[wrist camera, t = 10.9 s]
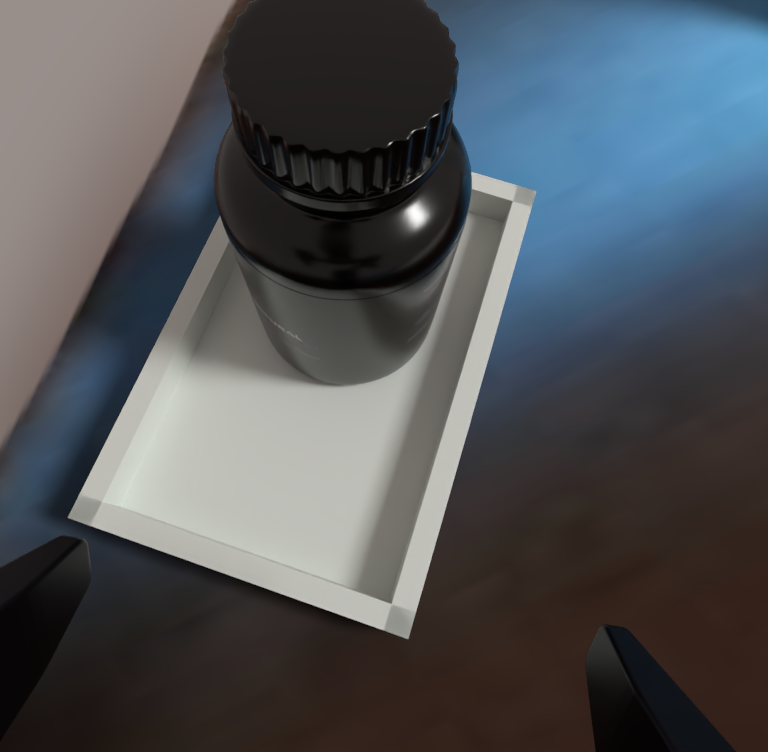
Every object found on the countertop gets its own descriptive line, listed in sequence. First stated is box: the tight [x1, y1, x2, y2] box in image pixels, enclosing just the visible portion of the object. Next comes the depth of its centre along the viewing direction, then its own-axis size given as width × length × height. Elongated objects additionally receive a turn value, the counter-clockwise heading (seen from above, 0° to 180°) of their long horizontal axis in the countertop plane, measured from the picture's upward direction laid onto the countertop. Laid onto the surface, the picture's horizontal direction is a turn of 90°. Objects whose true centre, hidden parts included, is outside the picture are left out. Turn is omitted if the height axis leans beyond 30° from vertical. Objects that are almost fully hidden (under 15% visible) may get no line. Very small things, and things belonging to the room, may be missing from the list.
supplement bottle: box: [214, 0, 472, 385], centre depth 17 cm, size 7×7×12 cm
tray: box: [68, 172, 536, 639], centre depth 21 cm, size 18×12×2 cm, turn 162°
